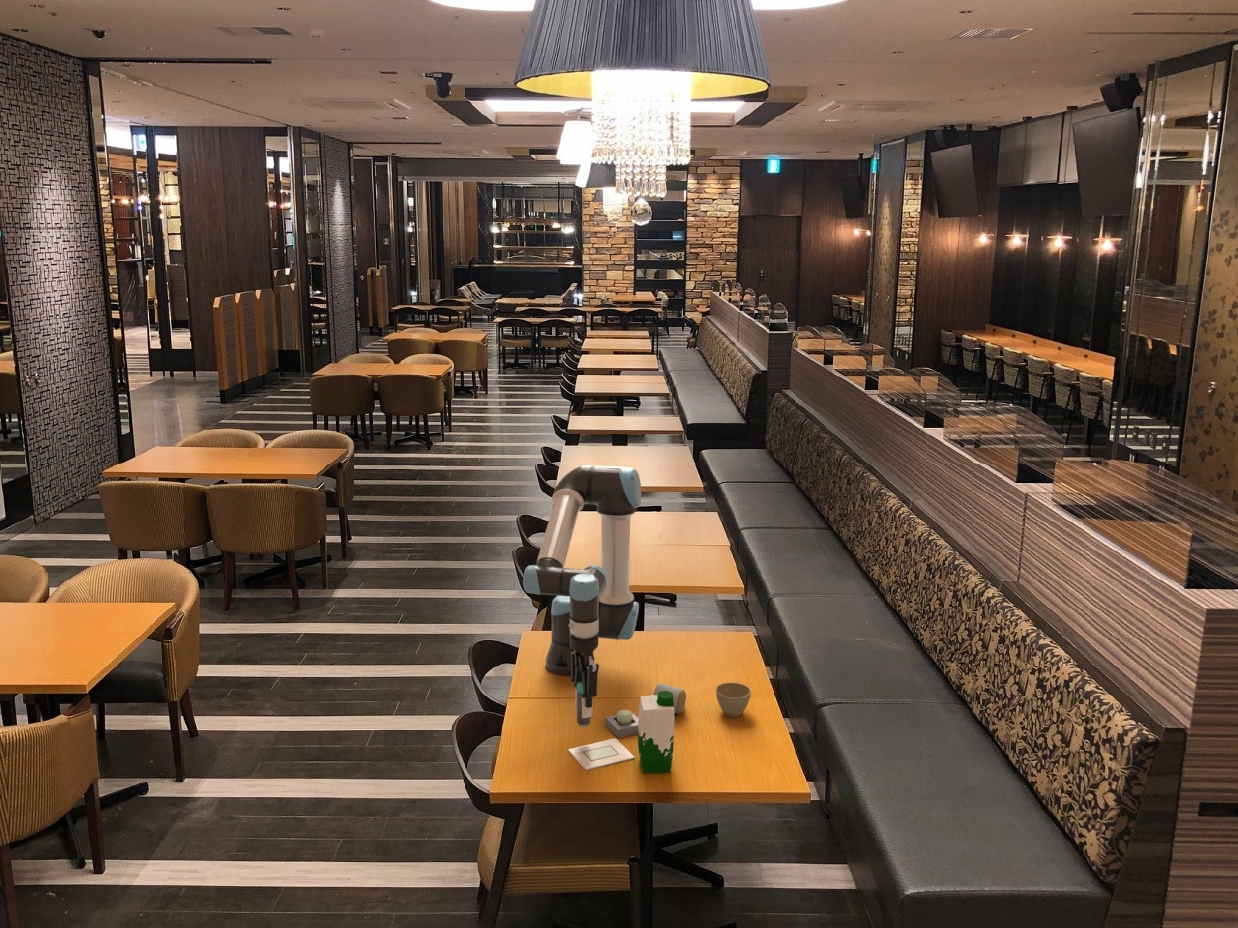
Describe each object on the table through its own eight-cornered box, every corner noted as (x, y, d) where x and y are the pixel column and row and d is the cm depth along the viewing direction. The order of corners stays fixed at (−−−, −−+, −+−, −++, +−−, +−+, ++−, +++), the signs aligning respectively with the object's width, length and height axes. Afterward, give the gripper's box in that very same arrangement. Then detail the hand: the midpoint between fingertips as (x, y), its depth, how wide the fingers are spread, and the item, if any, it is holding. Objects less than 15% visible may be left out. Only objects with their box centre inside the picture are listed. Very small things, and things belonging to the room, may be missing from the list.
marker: (574, 722, 281) (574, 682, 278) (587, 719, 283) (587, 679, 280) (580, 729, 278) (580, 688, 275) (592, 725, 280) (593, 685, 277)
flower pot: (754, 709, 300) (755, 686, 298) (743, 724, 291) (744, 700, 289) (721, 701, 304) (722, 679, 302) (709, 716, 295) (710, 693, 293)
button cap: (614, 721, 288) (614, 711, 287) (627, 718, 290) (627, 708, 289) (621, 727, 285) (621, 717, 284) (634, 724, 286) (634, 714, 286)
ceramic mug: (678, 719, 293) (679, 694, 291) (651, 713, 296) (652, 688, 294) (689, 703, 303) (691, 679, 301) (663, 698, 306) (664, 674, 304)
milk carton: (674, 774, 265) (677, 702, 260) (639, 775, 264) (640, 703, 259) (670, 756, 273) (672, 686, 268) (635, 757, 272) (637, 687, 268)
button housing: (604, 724, 289) (605, 716, 289) (630, 718, 293) (630, 711, 292) (617, 737, 282) (618, 729, 282) (644, 731, 286) (644, 723, 285)
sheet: (568, 750, 275) (568, 748, 275) (615, 739, 282) (615, 737, 281) (585, 770, 266) (585, 768, 266) (634, 758, 272) (634, 756, 272)
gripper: (558, 623, 279) (558, 702, 285) (584, 647, 265) (584, 730, 271) (583, 618, 282) (583, 696, 289) (610, 642, 268) (610, 724, 274)
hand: (583, 713), depth 280 cm, fingers closed on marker, 3 cm apart
